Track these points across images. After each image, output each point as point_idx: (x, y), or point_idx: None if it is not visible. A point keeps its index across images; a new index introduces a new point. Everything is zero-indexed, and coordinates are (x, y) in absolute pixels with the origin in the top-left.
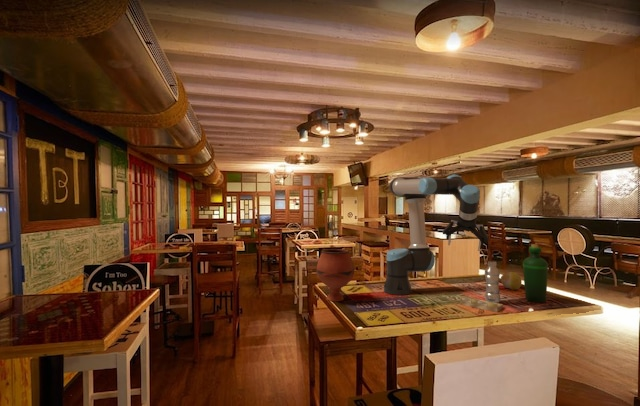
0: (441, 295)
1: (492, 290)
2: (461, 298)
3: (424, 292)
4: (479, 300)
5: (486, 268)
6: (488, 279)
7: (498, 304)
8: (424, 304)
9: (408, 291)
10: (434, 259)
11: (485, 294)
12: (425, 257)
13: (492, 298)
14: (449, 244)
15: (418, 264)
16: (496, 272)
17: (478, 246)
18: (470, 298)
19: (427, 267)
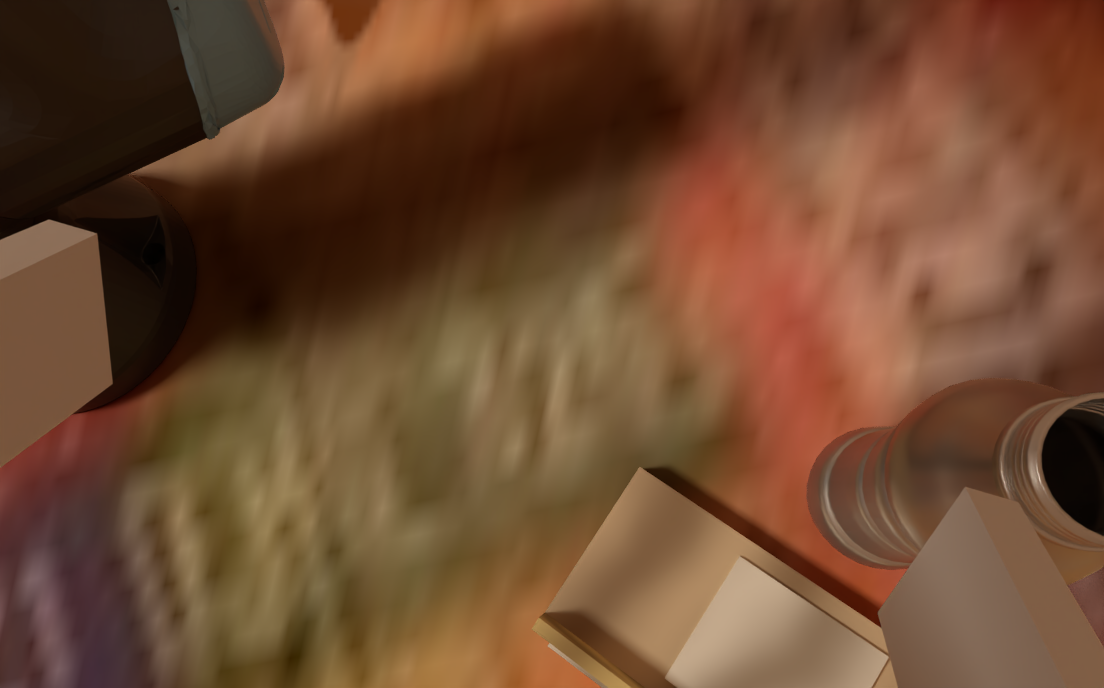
0: (437, 339)
1: (899, 558)
2: (543, 633)
3: (308, 269)
4: (730, 575)
5: (944, 463)
6: (900, 541)
7: (893, 680)
8: (220, 679)
9: (135, 366)
10: (237, 26)
11: (816, 493)
12: (64, 75)
13: (868, 565)
14: (74, 402)
15: (36, 185)
16: (1074, 580)
17: (965, 562)
18: (660, 498)
19: (200, 136)
